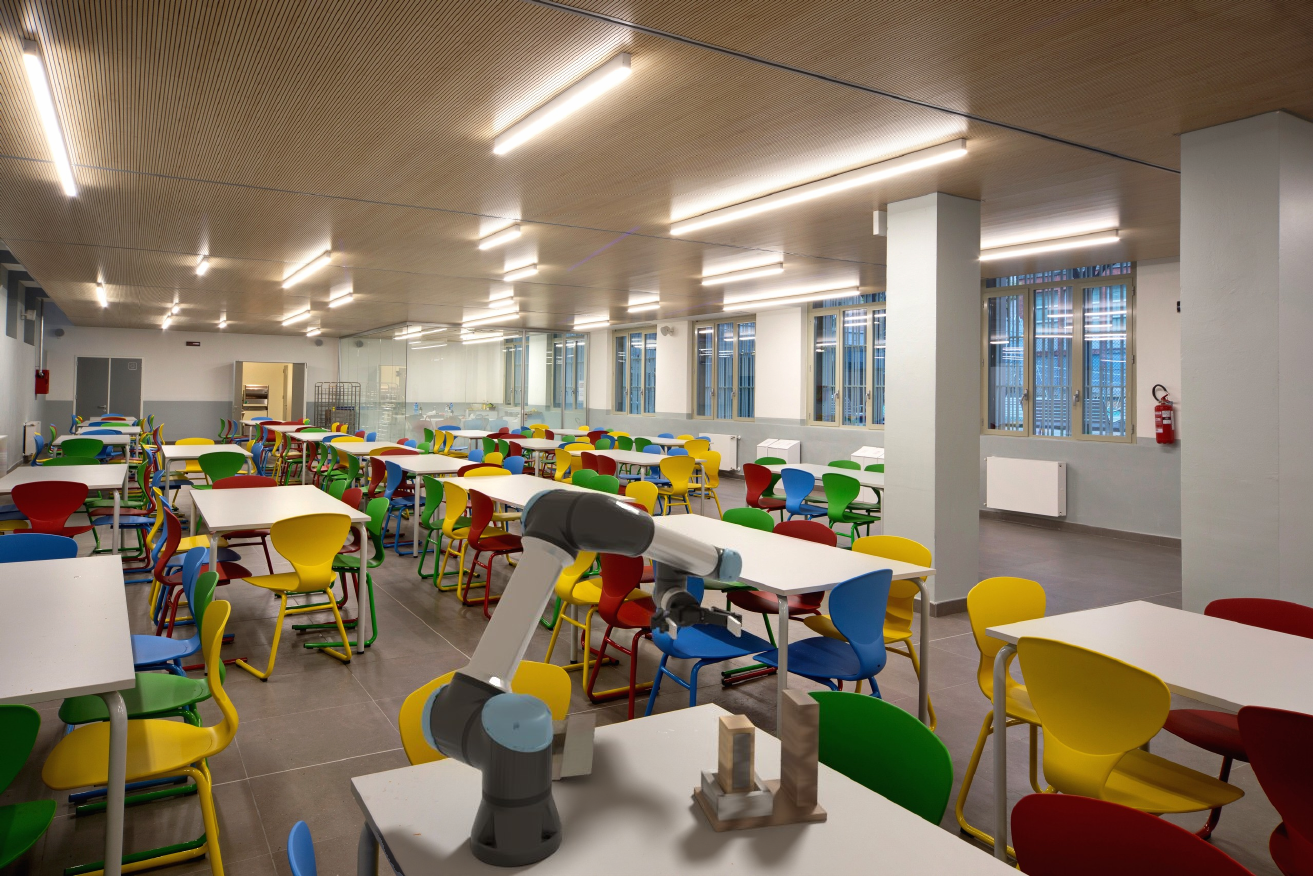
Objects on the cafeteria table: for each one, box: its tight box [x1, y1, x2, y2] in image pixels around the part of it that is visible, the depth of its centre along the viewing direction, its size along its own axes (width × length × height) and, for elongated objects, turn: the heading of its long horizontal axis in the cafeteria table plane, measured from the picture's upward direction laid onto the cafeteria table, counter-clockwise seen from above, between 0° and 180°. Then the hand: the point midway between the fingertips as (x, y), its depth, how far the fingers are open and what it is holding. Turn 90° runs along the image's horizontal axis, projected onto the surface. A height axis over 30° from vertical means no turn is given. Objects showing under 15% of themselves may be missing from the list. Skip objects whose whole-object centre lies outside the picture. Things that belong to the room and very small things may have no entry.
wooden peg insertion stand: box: [693, 688, 828, 833], centre depth 141 cm, size 21×14×20 cm, turn 103°
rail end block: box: [717, 714, 756, 794], centre depth 140 cm, size 5×6×15 cm
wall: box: [552, 712, 597, 781], centre depth 158 cm, size 16×9×15 cm
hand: (707, 631), depth 154 cm, fingers open, 13 cm apart
